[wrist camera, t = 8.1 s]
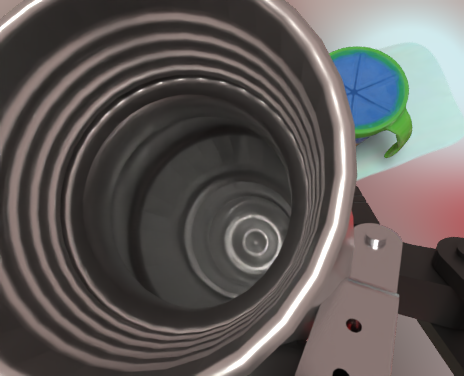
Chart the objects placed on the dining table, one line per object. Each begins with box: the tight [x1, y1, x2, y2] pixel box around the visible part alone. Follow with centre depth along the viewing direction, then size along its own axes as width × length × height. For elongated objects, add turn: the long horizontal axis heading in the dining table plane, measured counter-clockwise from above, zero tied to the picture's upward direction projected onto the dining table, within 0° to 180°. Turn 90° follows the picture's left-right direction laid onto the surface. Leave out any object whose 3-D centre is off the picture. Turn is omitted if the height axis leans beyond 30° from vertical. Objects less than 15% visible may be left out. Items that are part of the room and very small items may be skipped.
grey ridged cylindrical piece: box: [0, 0, 357, 376], centre depth 12 cm, size 6×7×20 cm
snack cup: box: [329, 47, 412, 158], centre depth 34 cm, size 16×10×10 cm
